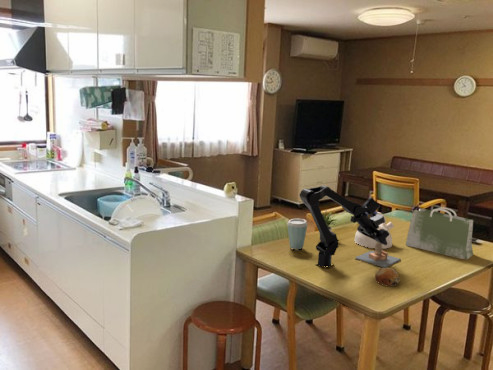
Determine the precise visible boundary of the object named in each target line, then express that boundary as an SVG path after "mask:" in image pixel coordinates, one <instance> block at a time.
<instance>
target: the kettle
mask: <svg viewBox="0 0 493 370" xmlns="http://www.w3.org/2000/svg"><path fill="white" fill-rule="evenodd" d="M375 214H380V215H383V216H384V219H385V223H382V224H380V225H378V226H379V228H378V229H377V230H380V229H384V230H387V231H388V232H389V236H388V237H387V238H386V241H387V245H384V244H382V250H385V249H390V248H391V247H392V246H393V237H392V234H391V232H390V230H391V229H392V228H393V227H395V226H394V224H393V222H391V221H389V222H388V223H387V224H386V222H387V219H386V217H385V214H383V213H382V212H379V211H375ZM366 215H367V214H366ZM367 216H368V215H367ZM375 235H376V234H375ZM354 241H355V242H354ZM354 241H353V242H354V243H355V244H356V243H357V245H358V244H359V245H358V246H360V245H361V247H363V246H365V247H364V248H367V247H368V248H367V249H373V248H375V245H376V240H374V239H372V238H370V237H367V236H365V235H363V234H362V233H360V232H359V231H358V230H357V229H356V232H355V236H354Z"/></svg>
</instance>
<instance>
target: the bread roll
mask: <svg viewBox="0 0 493 370" xmlns="http://www.w3.org/2000/svg"><path fill="white" fill-rule="evenodd" d="M374 280H375V282H376V281H377V283H378V282H379V283H380V285H382V284H383V285H382V286H385V285H387V286H386V287H396V286H397V285H398V284H399V282H400V280H401V279H400V275H399V274H398V272H397V270H395V269H393V268H391V267H386V268H383V267H380V269H378V270H377V271H376V272H375V275H374ZM379 283H378V284H379ZM395 285H396V286H395Z"/></svg>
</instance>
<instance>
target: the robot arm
mask: <svg viewBox="0 0 493 370" xmlns="http://www.w3.org/2000/svg"><path fill="white" fill-rule="evenodd" d="M324 197H327V198H329V199H330V200H331V201H333V202H335V203H337V204H338V205H339V206H341V209H343V210H344V211H345V212H346V213H348V214H350V215H352V216H350V220H349V221H350V222H351V223H354V224H356V223H357V225H358V226H357V229H356V231H357V230H358V231H359V232H360V233H362V234H363V235H365V236H367V237H370V238H372V239H374V240H376V241H377V242H380V243H382V244H384V245H387V241H386V238H387V237H388V236H389V232H390V231H389V232H388V231H387V230H384V229H380V230H377V229H378V228H379V226H378V225H380V224H382V223H385V219H386V218H385V219H384V217H385V215H384V214H383V215H384V216H383V215H380V214H375V212H377V210H379V208H380V207H381V204H380V203H379V202H377V201H376V200H375V199H374V198H373V197H368V198H367V199H366V201H365V202H364V203H363V204H360V203H358V202H355V201H352V200H350V199H348V198H345V197H344V196H342V195H341V194H339V193H337V192H336V191H335V190H333V189H331V187H329V186H327V185H321V186H315V187H310V188H303V189H301V191H300V193H299V198H300V200H301V201H302V202H303V204H304V205H305V206H306V207H307V208H308V210H309V212H310V214H311V216H312V219H313V221H314V224H315V225H316V228H317V230H318V232H320V234H319V242H318V243H317V244H315V249H316V251H318V256H317V258H318V259H317V263H318V265H320V266H319V267H321V266H325V267H326V266H328V268H330V267H329V266H331V263H332V256H335V254H336V252H337V249H338V248H339V242H340V239H338V237H337V233H335V232H333V231H332V230H331V231H329V229H328V226H329V225H328V226H327V224H326V222H325V219H324V217H323V213H322V211H321V209H320V200H322V199H324ZM366 214H367V215H366ZM375 234H376V235H375ZM332 264H333V266H334V263H332ZM318 265H317V266H318ZM331 267H332V266H331Z"/></svg>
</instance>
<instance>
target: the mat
mask: <svg viewBox="0 0 493 370" xmlns="http://www.w3.org/2000/svg"><path fill="white" fill-rule="evenodd" d="M369 253H375V250H370V251H367V252H365V253H363V254H360V255H357V256H355V257H354V259H355V258H356V259H355V260H357V259H359V260H358V261H360V260H362V261H361V262H363V261H366V262H365V263H367V262H368V263H367V264H370V263H372V264H371V265H373V264H374V265H373V266H376V265H377V267H380V268H389V267H391V266H392V265H394V264H396V263H398V262H400V261H401V258H399V257H395V256H392V255H387V259H385V260H373V259H371V258H369Z"/></svg>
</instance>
